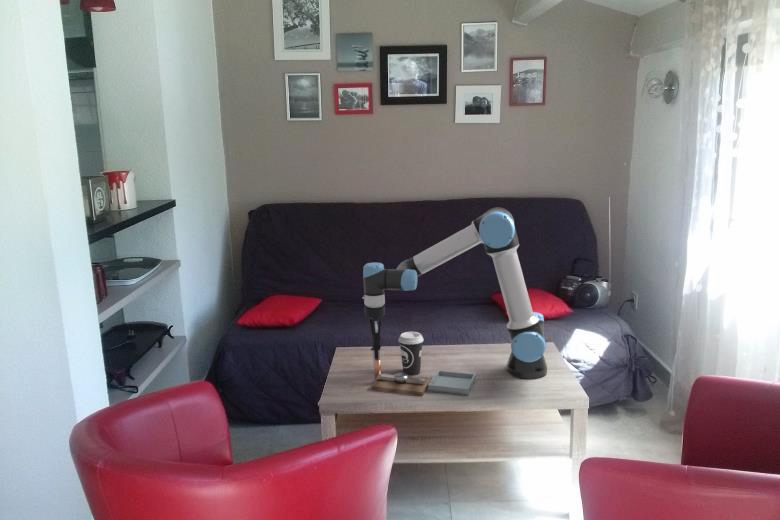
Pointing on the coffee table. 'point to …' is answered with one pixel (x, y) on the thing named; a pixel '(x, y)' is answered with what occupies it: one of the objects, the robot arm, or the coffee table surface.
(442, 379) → the tray
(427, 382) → the crank base
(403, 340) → the coffee cup
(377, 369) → the crank
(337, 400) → the coffee table surface
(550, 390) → the coffee table surface
